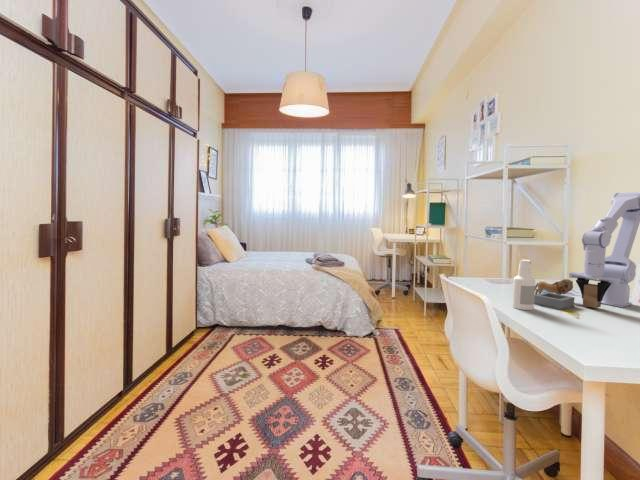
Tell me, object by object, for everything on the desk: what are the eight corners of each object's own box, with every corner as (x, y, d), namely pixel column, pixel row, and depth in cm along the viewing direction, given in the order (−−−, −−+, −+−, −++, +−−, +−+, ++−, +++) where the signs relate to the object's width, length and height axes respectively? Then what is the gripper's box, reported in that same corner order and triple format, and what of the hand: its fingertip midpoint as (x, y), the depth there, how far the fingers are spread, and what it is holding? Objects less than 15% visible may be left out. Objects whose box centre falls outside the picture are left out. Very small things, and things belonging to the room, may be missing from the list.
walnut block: (587, 304, 122) (588, 283, 121) (600, 306, 119) (602, 285, 118) (582, 305, 120) (584, 284, 119) (596, 308, 117) (597, 286, 116)
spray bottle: (530, 311, 115) (533, 262, 113) (509, 307, 120) (511, 260, 119) (536, 308, 119) (538, 260, 118) (515, 304, 124) (518, 258, 123)
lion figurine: (573, 300, 129) (574, 278, 129) (571, 303, 126) (572, 280, 125) (530, 294, 140) (531, 274, 139) (527, 296, 136) (528, 275, 135)
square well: (546, 300, 130) (546, 292, 129) (573, 306, 121) (574, 297, 121) (533, 303, 125) (534, 295, 125) (561, 310, 117) (562, 300, 116)
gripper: (566, 262, 122) (564, 296, 123) (615, 267, 110) (612, 305, 111) (574, 260, 126) (572, 294, 127) (623, 265, 113) (620, 303, 114)
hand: (592, 299), depth 119 cm, fingers closed on walnut block, 4 cm apart
